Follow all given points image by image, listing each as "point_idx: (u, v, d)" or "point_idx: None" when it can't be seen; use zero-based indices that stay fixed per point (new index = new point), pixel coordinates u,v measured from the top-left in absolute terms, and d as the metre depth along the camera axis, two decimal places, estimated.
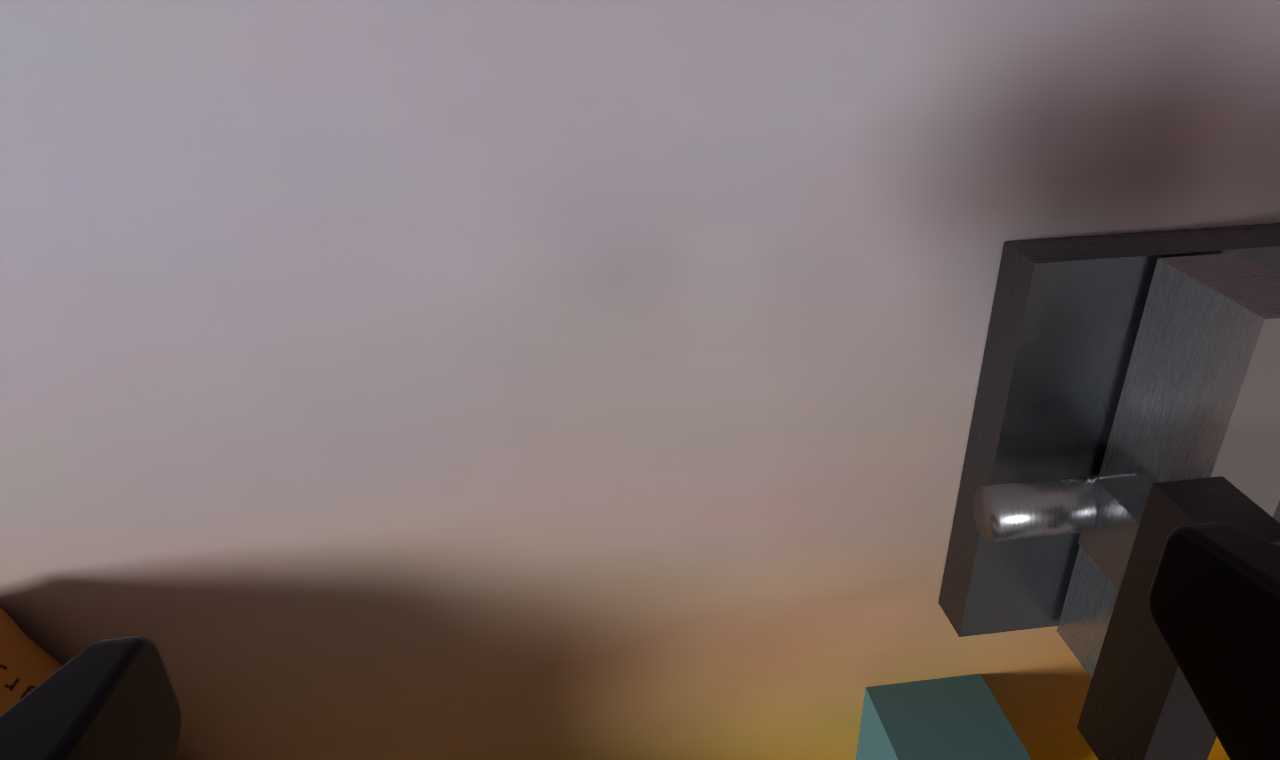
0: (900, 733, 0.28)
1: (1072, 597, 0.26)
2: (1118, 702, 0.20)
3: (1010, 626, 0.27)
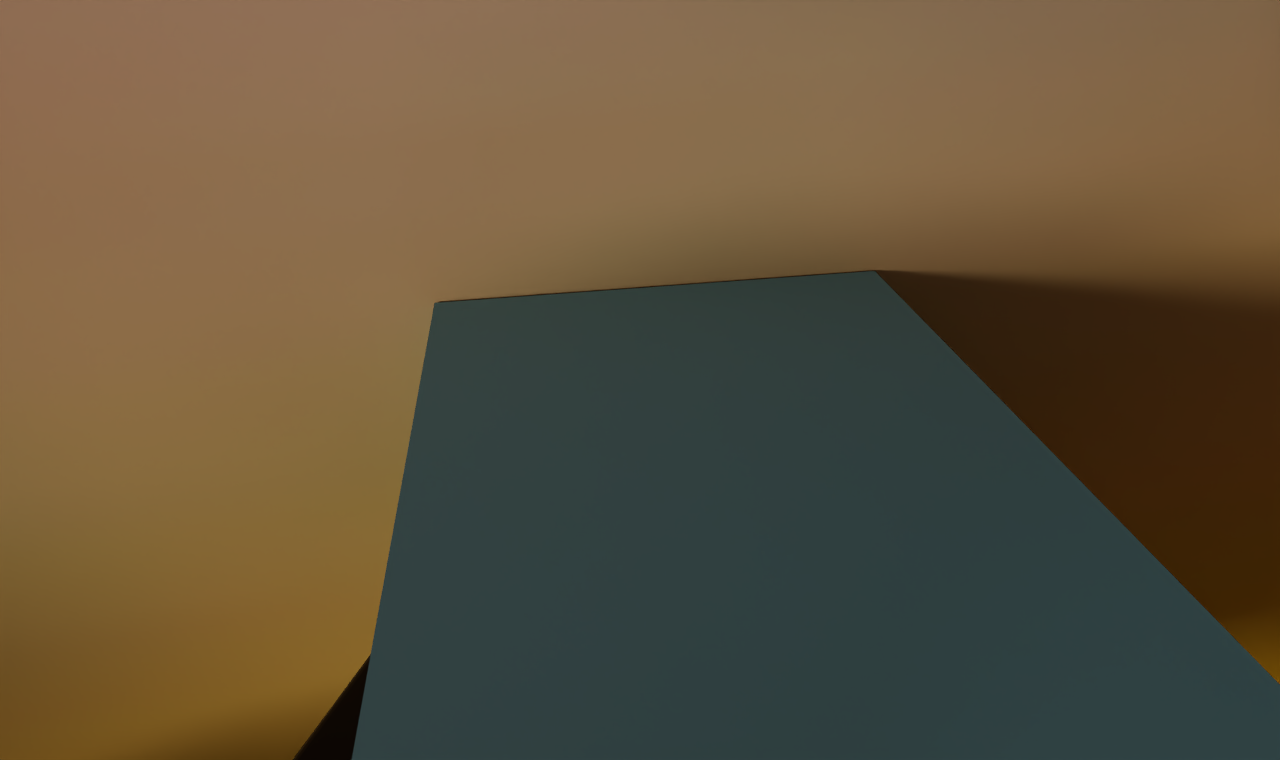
0: (476, 410, 0.06)
1: None
2: None
3: None
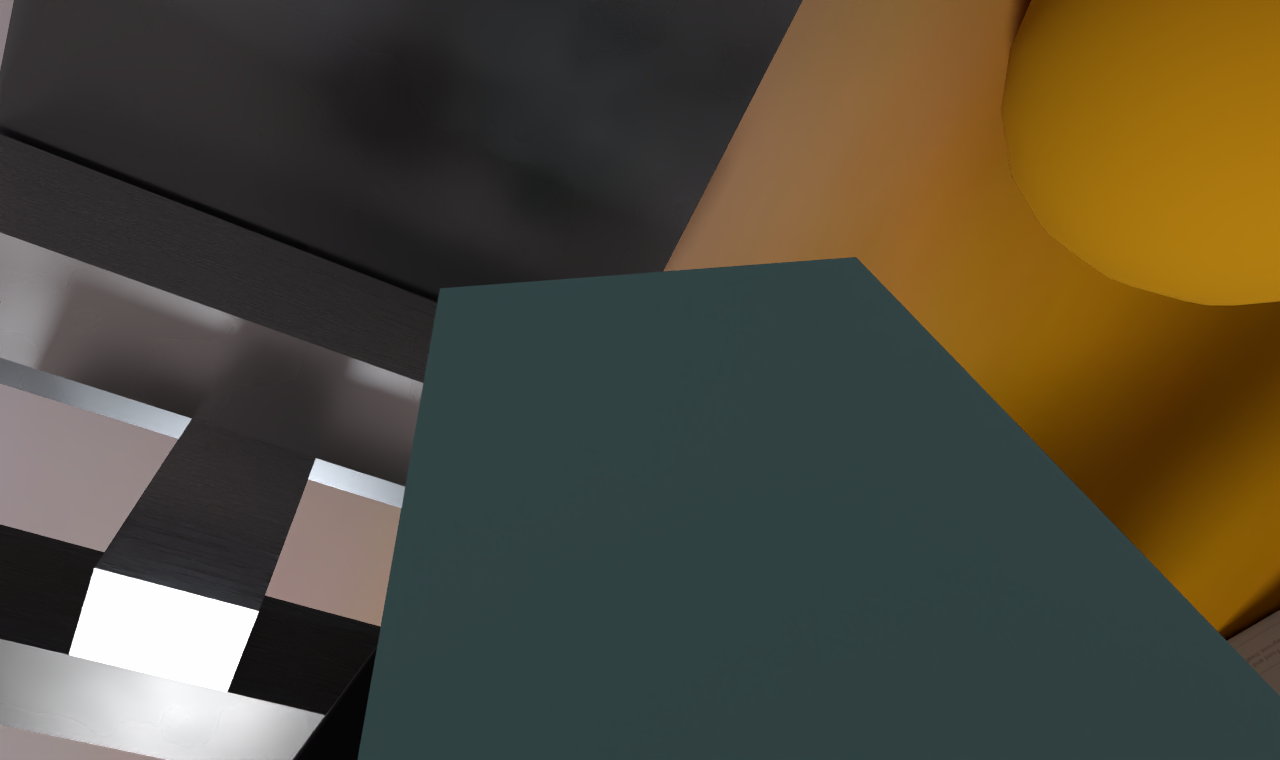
0: (480, 382, 0.07)
1: None
2: None
3: None
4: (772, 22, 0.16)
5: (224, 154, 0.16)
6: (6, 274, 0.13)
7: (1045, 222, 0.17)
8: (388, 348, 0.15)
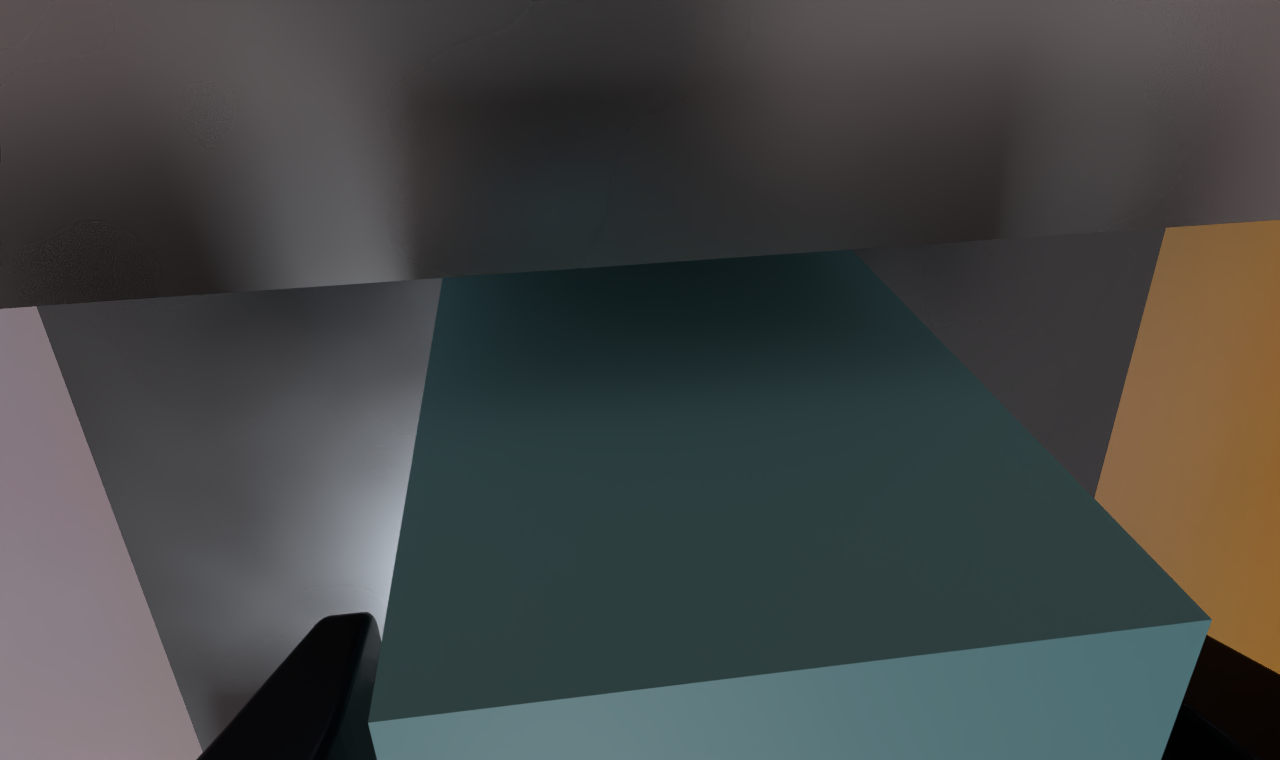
0: (485, 328, 0.08)
1: None
2: None
3: None
4: (1114, 327, 0.11)
5: None
6: None
7: None
8: None
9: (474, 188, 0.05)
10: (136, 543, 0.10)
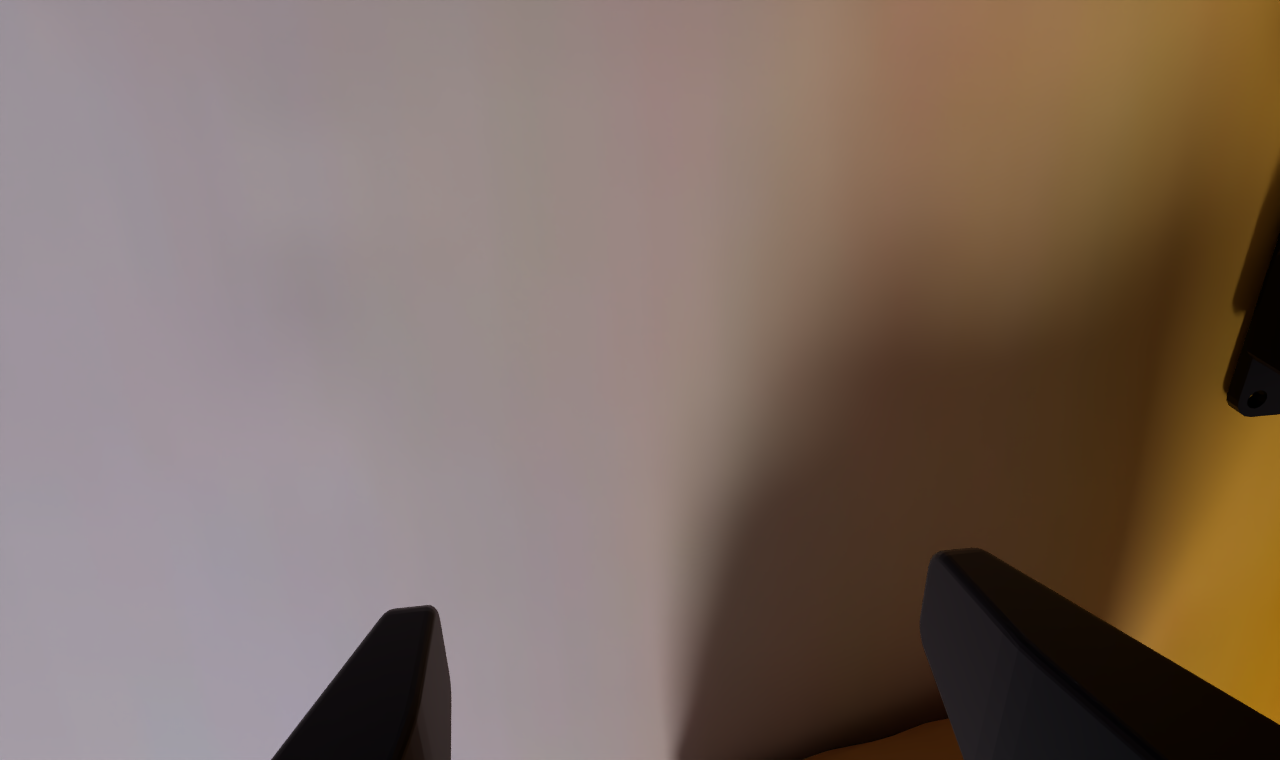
0: None
1: None
2: None
3: None
4: None
5: None
6: None
7: None
8: None
9: None
10: None
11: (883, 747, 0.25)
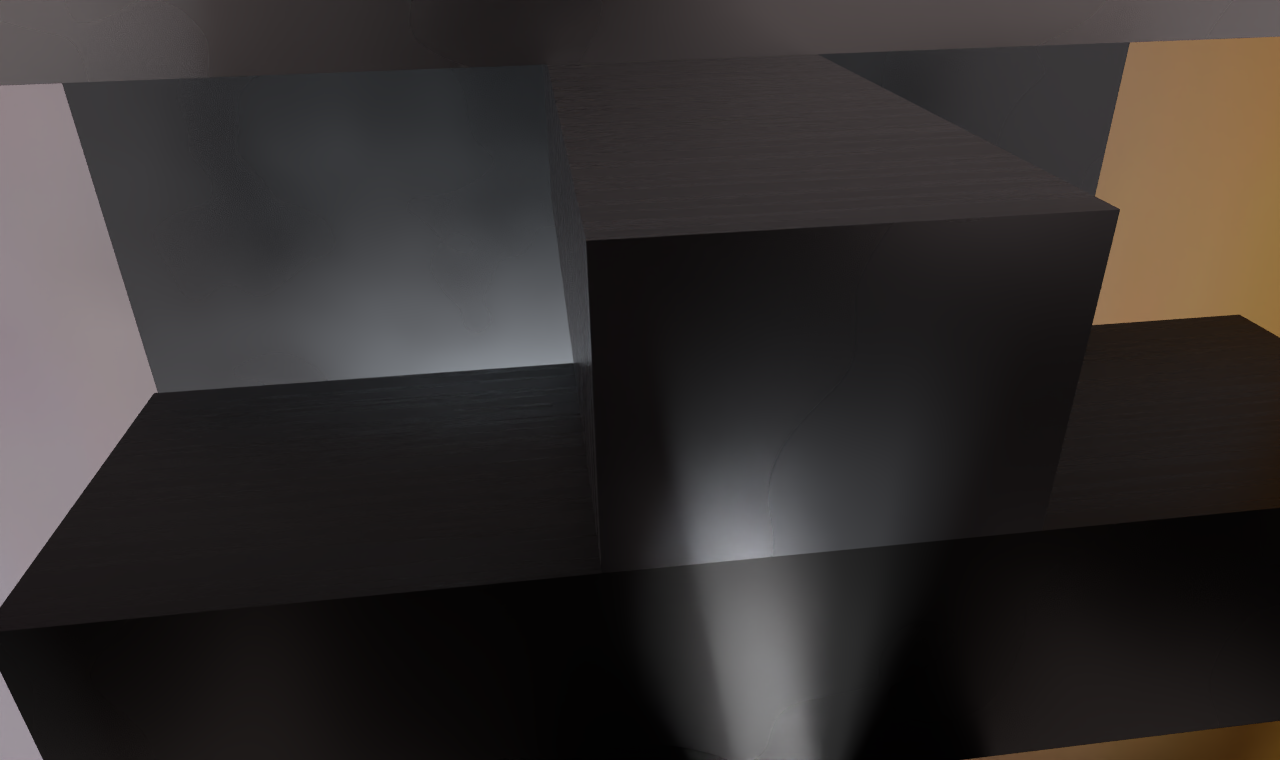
0: None
1: None
2: None
3: None
4: None
5: None
6: None
7: None
8: None
9: None
10: None
11: None
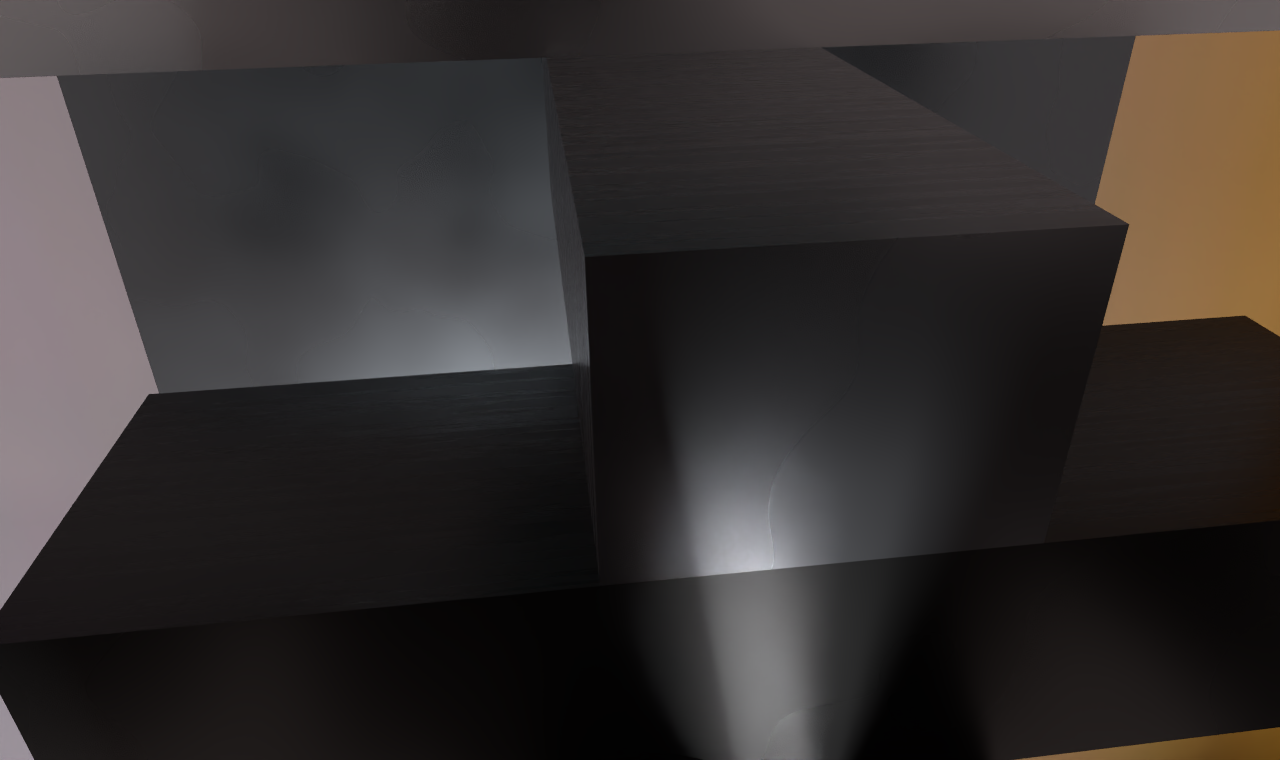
0: None
1: None
2: None
3: None
4: None
5: (428, 175, 0.10)
6: None
7: None
8: None
9: None
10: None
11: None
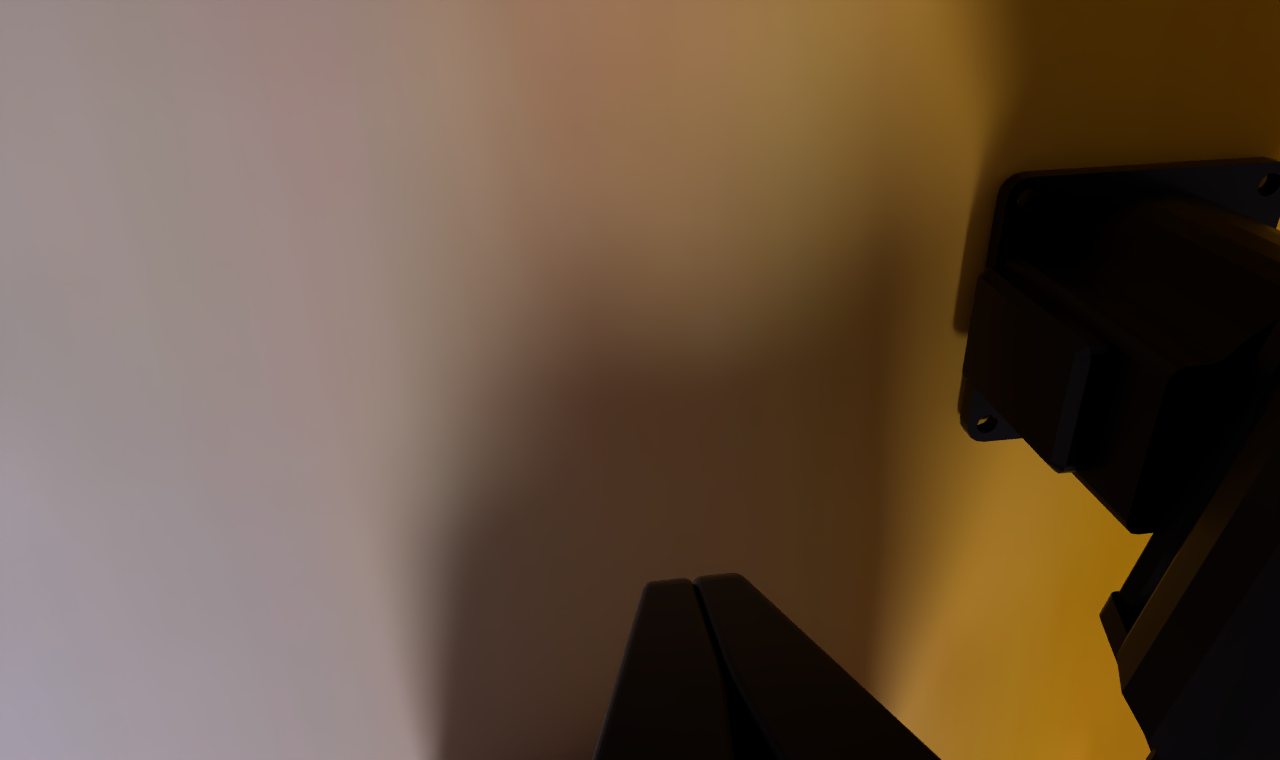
0: None
1: None
2: None
3: None
4: None
5: None
6: None
7: None
8: None
9: None
10: None
11: None
